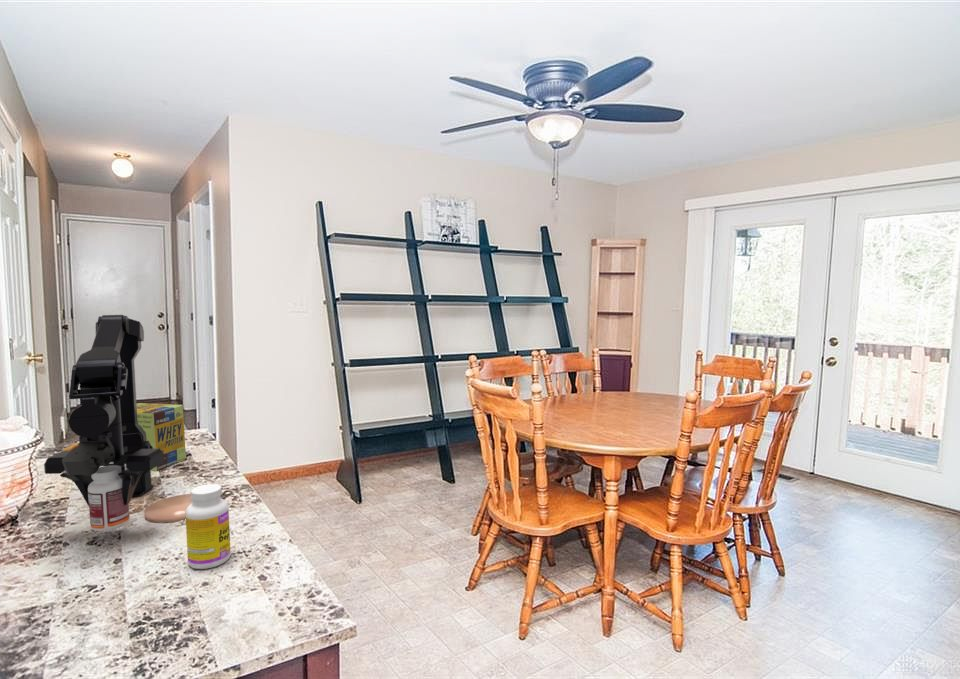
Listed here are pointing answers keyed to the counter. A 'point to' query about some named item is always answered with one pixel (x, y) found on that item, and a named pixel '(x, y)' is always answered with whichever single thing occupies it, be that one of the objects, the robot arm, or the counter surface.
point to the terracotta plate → (168, 509)
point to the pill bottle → (107, 500)
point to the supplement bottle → (207, 528)
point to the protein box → (164, 430)
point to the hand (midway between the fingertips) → (109, 504)
